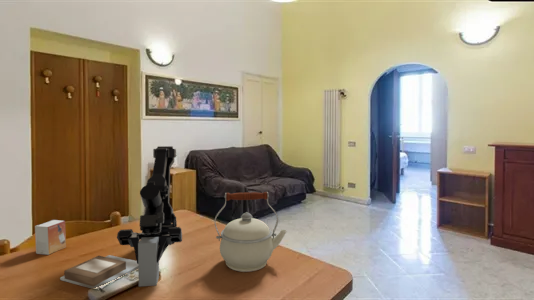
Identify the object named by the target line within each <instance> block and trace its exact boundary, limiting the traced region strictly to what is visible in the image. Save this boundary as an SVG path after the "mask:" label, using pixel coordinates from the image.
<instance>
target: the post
mask: <svg viewBox="0 0 534 300" xmlns="http://www.w3.org/2000/svg"><path fill="white" fill-rule="evenodd" d="M158 249H159V237H144V238H141V239H140V241H139V243H138V269H137V271H138V287H150V286H157V285H158V281H159V278H160V261H159V262H158V263H157V254H158Z"/></svg>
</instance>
